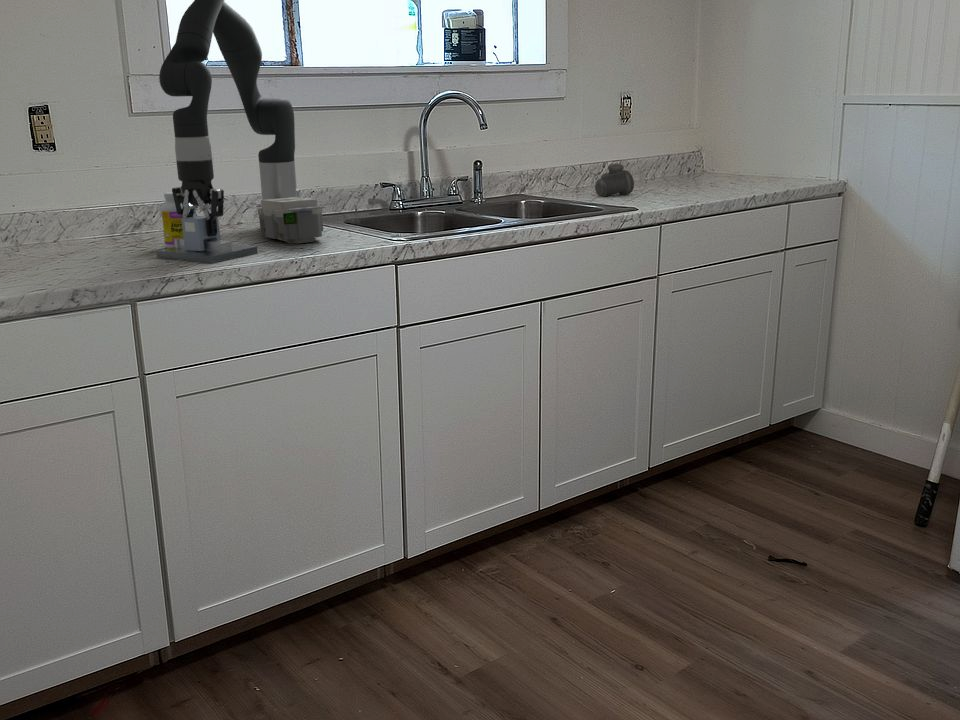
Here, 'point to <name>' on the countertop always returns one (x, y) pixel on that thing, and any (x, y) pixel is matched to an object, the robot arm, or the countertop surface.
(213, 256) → the grey flat block
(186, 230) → the block
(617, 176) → the pipe fitting
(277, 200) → the electrical outlet
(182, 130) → the robot arm
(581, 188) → the countertop surface
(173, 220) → the supplement bottle
